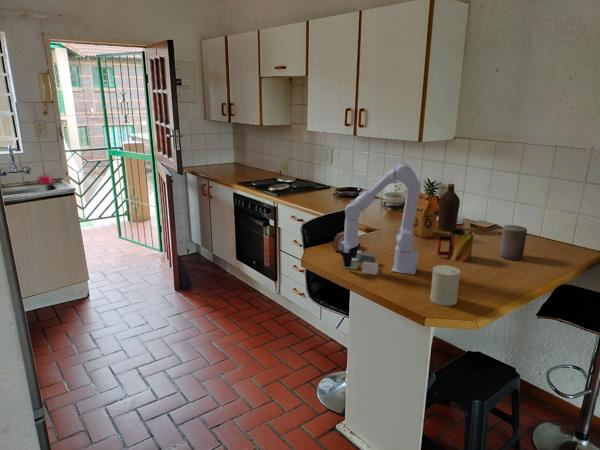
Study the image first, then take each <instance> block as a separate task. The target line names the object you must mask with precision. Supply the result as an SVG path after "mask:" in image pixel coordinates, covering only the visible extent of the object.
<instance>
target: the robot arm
mask: <svg viewBox="0 0 600 450" xmlns="http://www.w3.org/2000/svg"><path fill="white" fill-rule="evenodd" d="M398 182H400V183H402V184H404V185H405V187H406V188H407V190H406V194H405V195H406V196H405V201H404V207H403V211H402V212H403V213H402V220H401V225H400V227H399V230H398V233H397V234H396V235H395V242H396V243H397V244H396V245H395V248H394V257H393V258H394V260H393V266H392V269H391V272H395V273H400V274H408V275H413V276H414V275H415V274H416V273H417V270H418V261H419V260H418V259H419V251H418V250H414V248H415V241H414V233H413V227H414V221H415V215H416V210H417V204H418V199H419V193H421V192H420V191H421V188H422V187H421V183H420V181H419V179H418V177H417V174H416V173H415V171H414V170H413V168H411V167H410V166H409V165H408V163H405V162H399V163H397V164H396V165H395V166H394V167H392V168H391V169H389V170H388V171H387V172H386V173H385V174H384V175H383V176H382V177H380V179H379V180H378V181H377V182H376V183H375V184H374V185H373V186H372V187H370V189H368V190H363V191H360V192H359V193H358V194H359V195H358V196H357V197H356V198H355V199H353V200H351V201H350V203H348V204H347V205H346V206H345V209H344V214H345V215H344V216H345V218H344V230H343V231H344V241H342V242H341V244H343V245H344V250H341V251H339V252H340V255H341V257H342V259H343V260H344V265H345V267H350V265H351V261H352V258H356V255H357V251H359V249H360V247H361V244H360V243H359V225H360V224H359V217H361V216H360V215H361V213H362V212H364V211H365V210H366V209H367V208H368V207H369V206H371V204H372V203H374V201H375V197H376V196H377V195H378V194H380V192H382V191H383V190H384V189H386V187H388V186H389V185H390V184H398Z"/></svg>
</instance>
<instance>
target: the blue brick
mask: <svg viewBox="0 0 600 450" xmlns="http://www.w3.org/2000/svg"><path fill="white" fill-rule="evenodd" d="M362 253H363V252H362V250H358V251H357V255H356V258H357V259H358V262H361V254H362Z"/></svg>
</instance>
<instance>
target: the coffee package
mask: <svg viewBox="0 0 600 450" xmlns="http://www.w3.org/2000/svg"><path fill="white" fill-rule="evenodd" d="M434 225H435V210H434V205H433V201H432V197H431V195H429V194H426V193H423V192H420V193H419V199H418V204H417V210H416V215H415V221H414V227H413V235H415V236H418V237H420V238H422V239H425V238H432V237H433V233H434Z"/></svg>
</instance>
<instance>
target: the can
mask: <svg viewBox="0 0 600 450" xmlns="http://www.w3.org/2000/svg"><path fill="white" fill-rule="evenodd" d="M460 275H461V270H460V269H459V268H457V267H455V266H451V265H446V264H439V265H435V266H433V267H432V277H431V288H430V296H429V300H430V302H433V303H434V304H435V305H438V306H444V307H445V306H446V307H449V306H455V305H456V304H457V302H458V292H459V283H460Z"/></svg>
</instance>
